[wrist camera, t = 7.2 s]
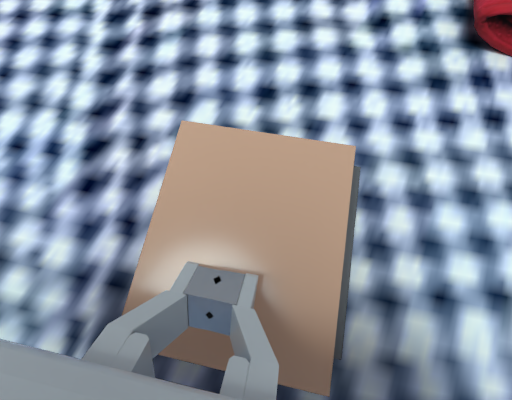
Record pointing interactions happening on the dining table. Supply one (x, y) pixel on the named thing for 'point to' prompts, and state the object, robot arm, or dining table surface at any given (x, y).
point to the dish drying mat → (494, 23)
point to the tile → (255, 240)
